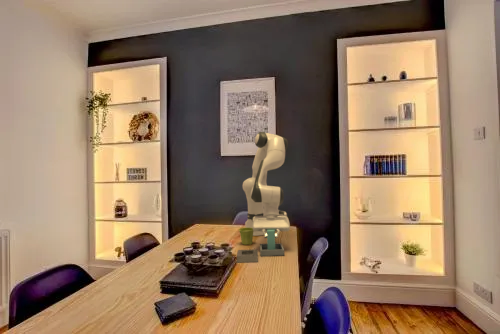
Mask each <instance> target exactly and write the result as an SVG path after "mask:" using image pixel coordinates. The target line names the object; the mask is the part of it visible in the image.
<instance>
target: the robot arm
mask: <svg viewBox="0 0 500 334" xmlns="http://www.w3.org/2000/svg"><path fill="white" fill-rule="evenodd" d="M254 145H255V146H256V147H257V150H256V152H255V156H254V159H253V162H252V166H251V168H252V175H251V176H252V177H248V178H247V179H245V180H244V181H243V182H242V190H243V192H244V194H245V197H246V201H247V216H246V217H247V220H246V221H245V223H244V225H245V227H244V228H253V230H254V232H253V237H255V236H258V237H259V236H264V239H267V229H275V239H278V237H279V235H280V232H289V231H290V230H291V224H290V220H289V217H288V213H287V212H286V211H284V210H281V209H279V207H280V206H281V205H282V204H283V203H284V198H285V197H284V196H285V195H284V190H283V188H281V186H273V185H268V184H267V176H268V171H272V170H276V169H279V168H280V167H282V165H284V163H285V159H286V151H287V149H288V146H289V141H288V139H287V138H285V137H284V136H280V135H278V134H273V133H268V132H265V131H258V133H257V134H256V135H255V138H254Z"/></svg>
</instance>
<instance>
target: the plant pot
mask: <svg viewBox="0 0 500 334" xmlns="http://www.w3.org/2000/svg"><path fill="white" fill-rule="evenodd" d="M238 232H239V234H240V240H241V244H242V245H244V246H247V245H249V246H250V245H252V244H253V237H254V236H253V232H254V230H253V228H245V227H240V228H239V229H238Z"/></svg>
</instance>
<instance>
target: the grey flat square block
mask: <svg viewBox="0 0 500 334" xmlns="http://www.w3.org/2000/svg"><path fill="white" fill-rule="evenodd" d="M236 253H237V254H236V264H240V263H241V264H242V263H259V256H258V255H259V253H258V249H254V248H253V249H237V252H236Z"/></svg>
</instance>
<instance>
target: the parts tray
mask: <svg viewBox="0 0 500 334" xmlns="http://www.w3.org/2000/svg"><path fill="white" fill-rule="evenodd" d="M259 252H260V253H259V254H260V255H259V256H260V257H285V249H284V246H283V243H279V242H275V250H268V249H267V243H259Z"/></svg>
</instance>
